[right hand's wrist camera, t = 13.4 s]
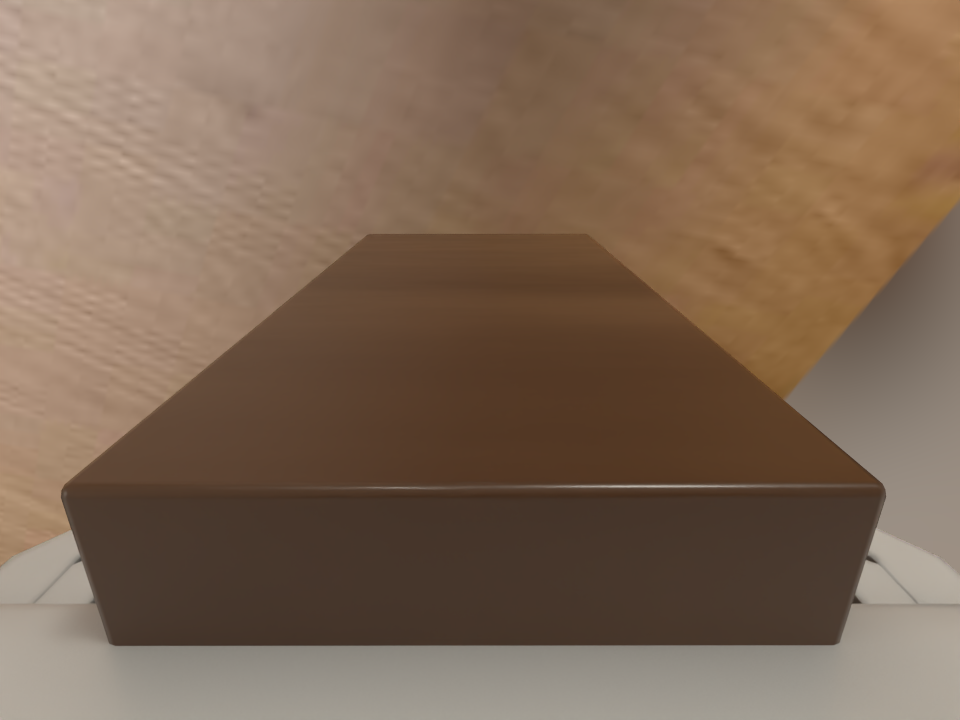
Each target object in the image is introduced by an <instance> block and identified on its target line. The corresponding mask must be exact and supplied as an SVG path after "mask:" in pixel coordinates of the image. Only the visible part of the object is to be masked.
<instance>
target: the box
mask: <svg viewBox="0 0 960 720" xmlns="http://www.w3.org/2000/svg"><path fill="white" fill-rule="evenodd" d="M61 499H62V502H63V505H64V508H65V511H66V514H67V517H68V520H69V523H70V526H71V529H72V532H73V535H74V539H75V542H76V545H77V548H78V551H79V554H80V557H81V560H82V563H83V566H84V569H85V572H86V575H87V578H88V581H89V584H90V587H91V590H92V593H93V596H94V599H95V602H96V605H97V608H98V611H99V614H100V617H101V620H102V623H103V626H104V629H105V632H106V635H107V638H108V641H109V644H112V645H114V646H652V645H836V644H838V643H840V640H841V636H842V633H843V630H844V627H845V624H846V621H847V618H848V614H849V611H850V608H851V605H852V602H853V599H854V596H855V593H856V589H857V586H858V583H859V580H860V577H861V574H862V571H863V568H864V564H865V561H866V558H867V555H868V552H869V549H870V546H871V542H872V539H873V536H874V533H875V530H876V527H877V524H878V520H879V517H880V514H881V511H882V508H883V505H884V502H885V499H886V492H885V488H884V486H883V484H882V483H881V482H880V481H878V480H877V479H876V478H875V477H874V476H873V475H871V474H870V473H869V472H868V471H867V470H865V469H864V468H863V467H862V466H861V465H860V464H858V463H857V462H856V461H855V460H854V459H853V458H851V457H850V456H849V455H848V454H847V453H845V452H844V451H843V450H842V449H841V448H840V447H838V446H837V445H836V444H835V443H834V442H832V441H831V440H830V439H829V438H828V437H827V436H825V435H824V434H823V433H822V432H821V431H819V430H818V429H817V428H816V427H815V426H813V425H812V424H811V423H810V422H809V421H808V420H806V419H805V418H804V417H803V416H802V415H800V414H799V413H798V412H797V411H796V410H795V409H793V408H792V407H791V406H790V405H789V404H787V403H786V402H785V401H784V400H783V399H782V398H780V397H779V396H778V395H777V394H776V393H774V392H773V391H772V390H771V389H770V388H769V387H767V386H766V385H765V384H764V383H763V382H761V381H760V380H759V379H758V378H757V377H756V376H754V375H753V374H752V373H751V372H750V371H748V370H747V369H746V368H745V367H744V366H743V365H741V364H740V363H739V362H738V361H737V360H735V359H734V358H733V357H732V356H731V355H730V354H728V353H727V352H726V351H725V350H724V349H722V348H721V347H720V346H719V345H718V344H717V343H715V342H714V341H713V340H712V339H711V338H709V337H708V336H707V335H706V334H705V333H704V332H702V331H701V330H700V329H699V328H698V327H696V326H695V325H694V324H693V323H692V322H691V321H689V320H688V319H687V318H686V317H685V316H683V315H682V314H681V313H680V312H679V311H678V310H676V309H675V308H674V307H673V306H672V305H670V304H669V303H668V302H667V301H666V300H665V299H663V298H662V297H661V296H660V295H659V294H657V293H656V292H655V291H654V290H653V289H652V288H650V287H649V286H648V285H647V284H646V283H644V282H643V281H642V280H641V279H640V278H639V277H637V276H636V275H635V274H634V273H633V272H631V271H630V270H629V269H628V268H627V267H626V266H624V265H623V264H622V263H621V262H620V261H618V260H617V259H616V258H615V257H614V256H613V255H611V254H610V253H609V252H608V251H607V250H605V249H604V248H603V247H602V246H601V245H600V244H598V243H597V242H596V241H595V240H594V239H592V238H591V237H590V236H589V235H587V234H369V235H367V236H366V237H364V238H363V239H362V240H361V241H360V242H358V243H357V244H356V245H355V246H354V247H352V248H351V249H350V250H349V251H347V252H346V253H345V254H344V255H343V256H341V257H340V258H339V259H338V260H337V261H335V262H334V263H333V264H332V265H331V266H329V267H328V268H327V269H326V270H324V271H323V272H322V273H321V274H320V275H318V276H317V277H316V278H315V279H314V280H312V281H311V282H310V283H309V284H307V285H306V286H305V287H304V288H303V289H301V290H300V291H299V292H298V293H297V294H295V295H294V296H293V297H292V298H290V299H289V300H288V301H287V302H286V303H284V304H283V305H282V306H281V307H280V308H278V309H277V310H276V311H275V312H273V313H272V314H271V315H270V316H269V317H267V318H266V319H265V320H264V321H263V322H261V323H260V324H259V325H258V326H256V327H255V328H254V329H253V330H252V331H250V332H249V333H248V334H247V335H246V336H244V337H243V338H242V339H241V340H239V341H238V342H237V343H236V344H235V345H233V346H232V347H231V348H230V349H229V350H227V351H226V352H225V353H224V354H222V355H221V356H220V357H219V358H218V359H216V360H215V361H214V362H213V363H212V364H210V365H209V366H208V367H207V368H206V369H204V370H203V371H202V372H201V373H199V374H198V375H197V376H196V377H195V378H193V379H192V380H191V381H190V382H189V383H187V384H186V385H185V386H184V387H182V388H181V389H180V390H179V391H178V392H176V393H175V394H174V395H173V396H172V397H170V398H169V399H168V400H167V401H165V402H164V403H163V404H162V405H161V406H159V407H158V408H157V409H156V410H155V411H153V412H152V413H151V414H150V415H148V416H147V417H146V418H145V419H144V420H142V421H141V422H140V423H139V424H138V425H136V426H135V427H134V428H133V429H131V430H130V431H129V432H128V433H127V434H125V435H124V436H123V437H122V438H121V439H119V440H118V441H117V442H116V443H114V444H113V445H112V446H111V447H110V448H108V449H107V450H106V451H105V452H104V453H102V454H101V455H100V456H99V457H97V458H96V459H95V460H94V461H93V462H91V463H90V464H89V465H88V466H87V467H85V468H84V469H83V470H82V471H80V472H79V473H78V474H77V475H76V476H74V477H73V478H72V479H71V480H70V481H68V482H67V483H66V484H65V485H64V487H63V489H62V493H61Z"/></svg>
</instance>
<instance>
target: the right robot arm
mask: <svg viewBox="0 0 960 720" xmlns="http://www.w3.org/2000/svg"><path fill="white" fill-rule="evenodd" d="M0 720H960V574H959V573H958V572H957V571H956V570H955V569H954V568H953V567H951V566H950V565H949V564H948V563H947V562H946V561H945V560H944V559H943V558H941V557H940V556H937V555H935V554H933V553H931V552H929V551H926V550H924V549H922V548H920V547H918V546H915V545H913V544H911V543H909V542H907V541H904V540H902V539H900V538H898V537H896V536H894V535H891V534H889V533H887V532H885V531H882V530H880V529H878V528H876V530H875V533H874V536H873V539H872V542H871V546H870V549H869V552H868V555H867V558H866V561H865V564H864V568H863V571H862V574H861V577H860V580H859V583H858V586H857V589H856V593H855V596H854V599H853V602H852V605H851V608H850V611H849V614H848V618H847V621H846V624H845V627H844V630H843V633H842V636H841V640H840V643H838V644H836V645H652V646H114V645H112V644H109V641H108V638H107V635H106V632H105V629H104V626H103V623H102V620H101V617H100V614H99V611H98V608H97V605H96V602H95V599H94V596H93V593H92V590H91V587H90V584H89V581H88V578H87V575H86V572H85V569H84V566H83V563H82V560H81V557H80V554H79V551H78V548H77V545H76V542H75V539H74V535H73V532H72V530H70V531H68V532H65V533H63V534H61V535H59V536H56V537H54V538H52V539H50V540H48V541H45V542H43V543H41V544H39V545H36V546H34V547H32V548H30V549H28V550H25V551H23V552H21V553H19V554H16V555H14V556H12V557H11V558H10V559H9V560H8V561H6V562H5V563H4V564H3V565H2V566H1V567H0Z"/></svg>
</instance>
